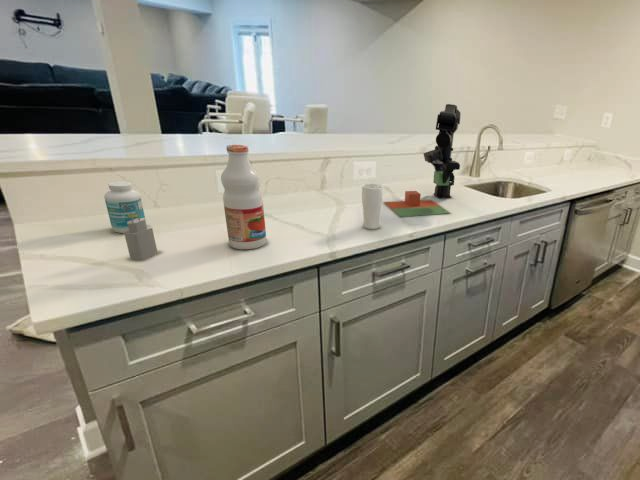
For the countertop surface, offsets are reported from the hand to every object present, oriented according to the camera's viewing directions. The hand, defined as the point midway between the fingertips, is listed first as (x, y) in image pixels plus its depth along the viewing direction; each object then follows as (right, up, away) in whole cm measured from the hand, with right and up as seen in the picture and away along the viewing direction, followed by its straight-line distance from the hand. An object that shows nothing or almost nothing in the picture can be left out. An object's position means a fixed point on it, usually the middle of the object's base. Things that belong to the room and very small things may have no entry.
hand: (441, 181), depth 163 cm
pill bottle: (-84, -23, -53) cm, 102 cm away
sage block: (0, -1, 0) cm, 1 cm away
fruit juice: (-51, -27, -52) cm, 78 cm away
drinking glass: (-22, -21, -28) cm, 41 cm away
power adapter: (-69, -31, -66) cm, 100 cm away
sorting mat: (-10, -12, -2) cm, 15 cm away
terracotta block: (-13, -9, +2) cm, 16 cm away
